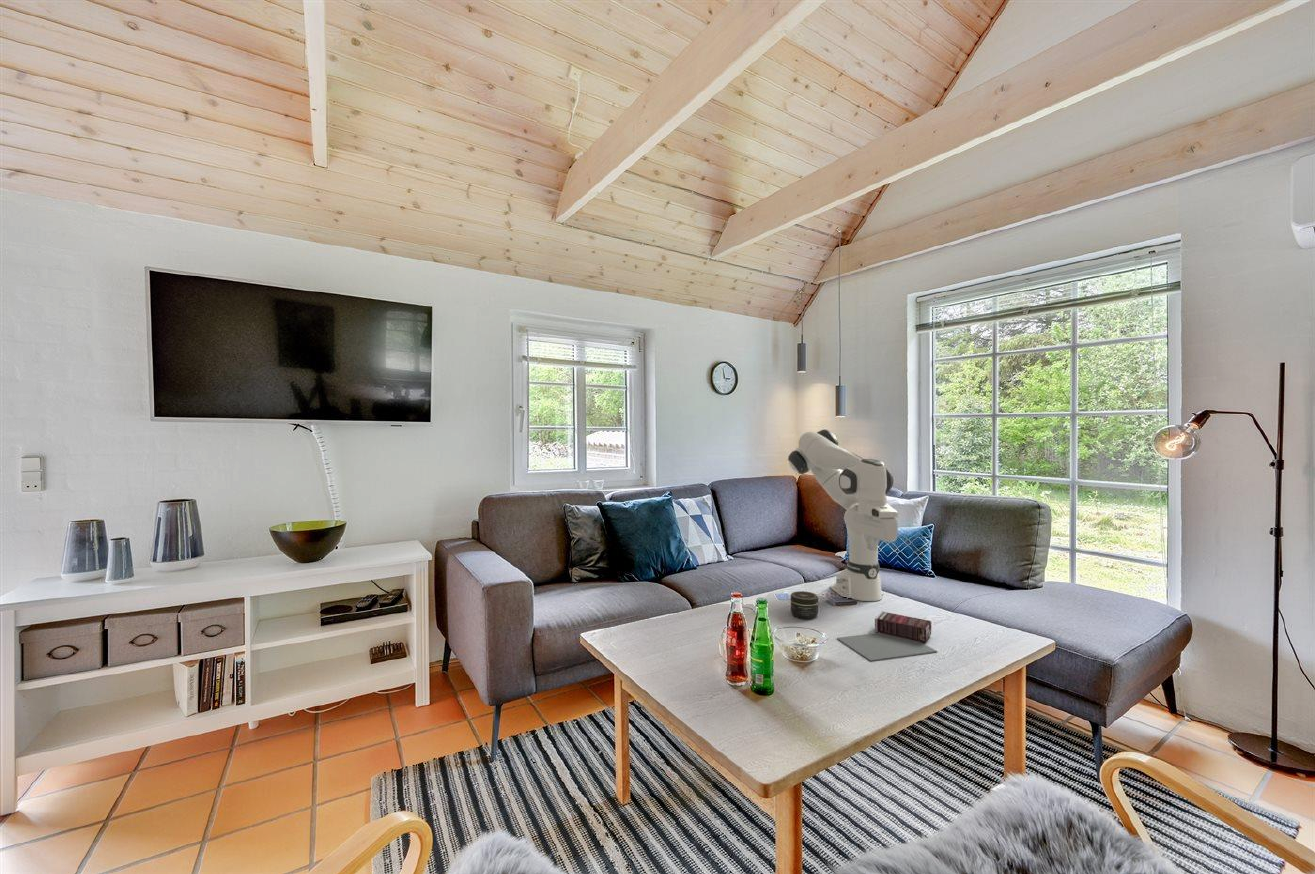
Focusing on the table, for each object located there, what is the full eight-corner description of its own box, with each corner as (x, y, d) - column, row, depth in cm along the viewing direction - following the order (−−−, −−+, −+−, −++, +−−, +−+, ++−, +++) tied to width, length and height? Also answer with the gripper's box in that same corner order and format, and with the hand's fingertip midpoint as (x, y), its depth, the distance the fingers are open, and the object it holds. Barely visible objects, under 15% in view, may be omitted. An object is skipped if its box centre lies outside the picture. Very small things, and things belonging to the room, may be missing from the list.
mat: (836, 638, 172) (837, 637, 172) (898, 631, 178) (898, 630, 178) (870, 661, 156) (870, 660, 156) (937, 652, 162) (937, 650, 162)
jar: (821, 620, 189) (821, 599, 188) (794, 620, 189) (794, 599, 189) (813, 610, 199) (814, 590, 198) (787, 610, 199) (787, 590, 199)
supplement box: (874, 632, 177) (926, 643, 168) (874, 618, 177) (925, 628, 167) (881, 624, 184) (931, 634, 174) (881, 610, 184) (931, 620, 174)
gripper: (844, 504, 182) (844, 543, 182) (884, 513, 162) (884, 557, 163) (860, 503, 184) (860, 542, 184) (901, 512, 164) (901, 556, 164)
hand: (871, 549), depth 173 cm, fingers closed
